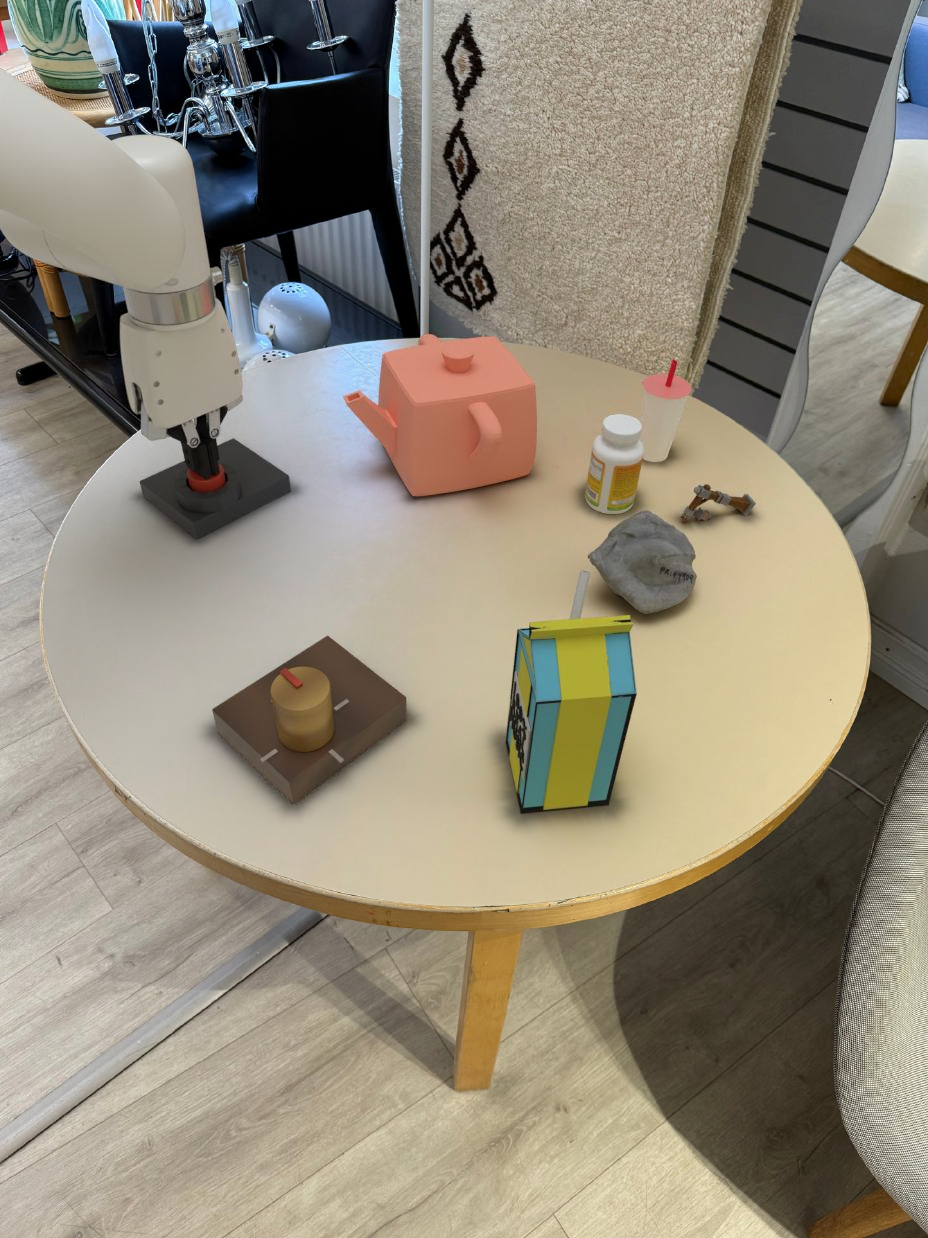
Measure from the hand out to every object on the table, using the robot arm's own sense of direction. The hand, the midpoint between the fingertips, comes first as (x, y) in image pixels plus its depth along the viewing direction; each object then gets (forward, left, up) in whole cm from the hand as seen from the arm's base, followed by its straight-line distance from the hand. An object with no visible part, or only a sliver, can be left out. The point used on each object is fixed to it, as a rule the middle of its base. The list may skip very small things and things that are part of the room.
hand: (204, 470), depth 92 cm
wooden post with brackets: (+38, -38, -5) cm, 54 cm away
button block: (+2, +2, -5) cm, 6 cm away
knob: (-13, -32, -2) cm, 35 cm away
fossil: (+22, -39, -5) cm, 45 cm away
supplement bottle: (+32, -28, -5) cm, 43 cm away
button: (0, 0, -2) cm, 2 cm away
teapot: (+23, -10, -5) cm, 26 cm away
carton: (0, -47, -5) cm, 47 cm away
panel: (-11, -30, -5) cm, 32 cm away
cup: (+43, -26, -5) cm, 51 cm away
